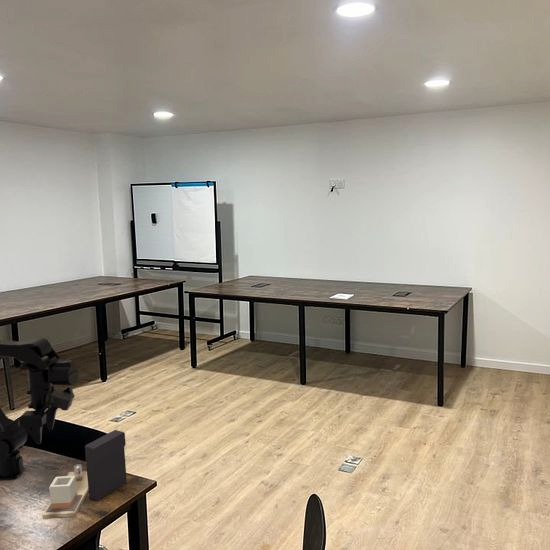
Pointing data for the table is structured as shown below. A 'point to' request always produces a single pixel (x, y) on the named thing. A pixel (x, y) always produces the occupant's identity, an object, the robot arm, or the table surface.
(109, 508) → the table surface
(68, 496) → the sleeve
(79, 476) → the pins
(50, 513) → the pin board
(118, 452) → the upright charcoal slab
